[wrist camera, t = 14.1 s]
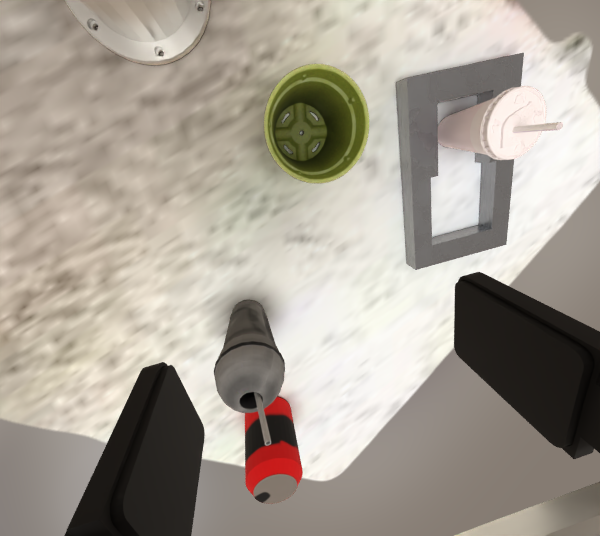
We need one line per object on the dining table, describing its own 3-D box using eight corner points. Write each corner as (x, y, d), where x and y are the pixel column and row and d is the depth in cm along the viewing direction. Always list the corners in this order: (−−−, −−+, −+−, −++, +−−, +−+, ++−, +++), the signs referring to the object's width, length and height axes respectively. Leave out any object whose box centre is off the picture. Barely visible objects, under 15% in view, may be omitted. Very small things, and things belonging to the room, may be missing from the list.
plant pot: (306, 192, 35) (324, 204, 28) (242, 140, 32) (242, 136, 24) (355, 127, 34) (389, 119, 26) (293, 65, 30) (310, 34, 22)
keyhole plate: (395, 82, 33) (406, 77, 30) (505, 59, 34) (523, 52, 32) (406, 263, 42) (415, 269, 40) (492, 239, 43) (506, 244, 41)
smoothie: (416, 141, 36) (514, 134, 23) (448, 90, 34) (571, 53, 21) (451, 168, 38) (558, 175, 25) (482, 121, 36) (613, 104, 23)
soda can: (235, 412, 46) (233, 492, 35) (273, 386, 46) (282, 460, 35) (263, 435, 49) (269, 515, 38) (299, 411, 49) (315, 486, 38)
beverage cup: (214, 298, 38) (189, 429, 20) (268, 285, 39) (290, 400, 21) (229, 341, 41) (219, 490, 23) (279, 328, 42) (306, 463, 24)
